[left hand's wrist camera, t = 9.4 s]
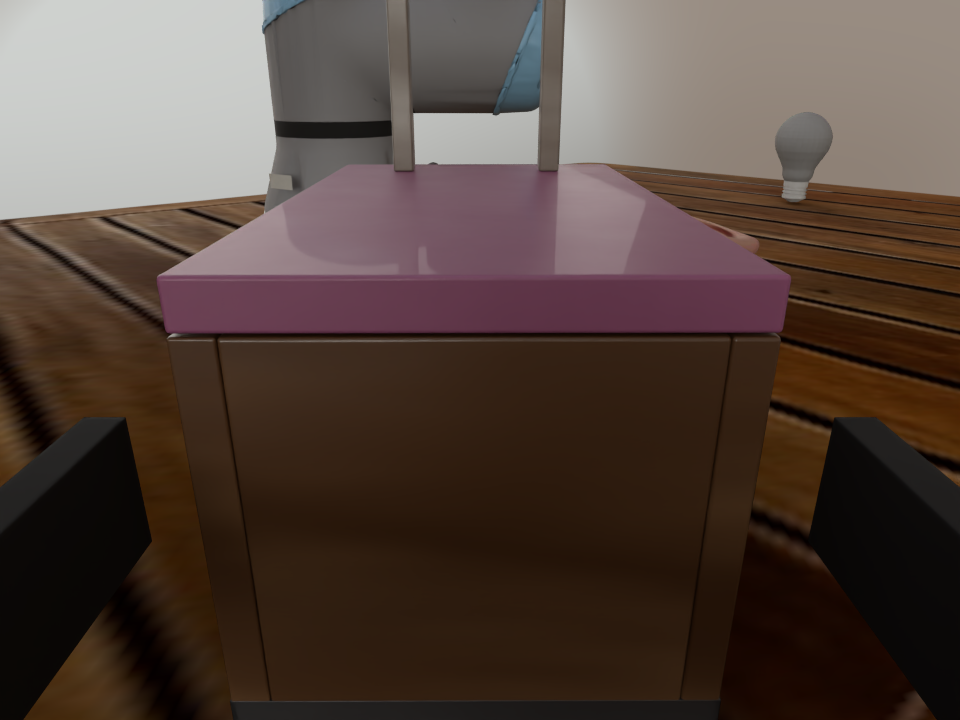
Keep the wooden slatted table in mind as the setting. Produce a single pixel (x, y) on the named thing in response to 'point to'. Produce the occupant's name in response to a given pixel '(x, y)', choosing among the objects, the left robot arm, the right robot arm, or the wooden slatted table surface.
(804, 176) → the light bulb
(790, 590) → the wooden slatted table surface
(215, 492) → the chest
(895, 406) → the wooden slatted table surface
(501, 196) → the lid
